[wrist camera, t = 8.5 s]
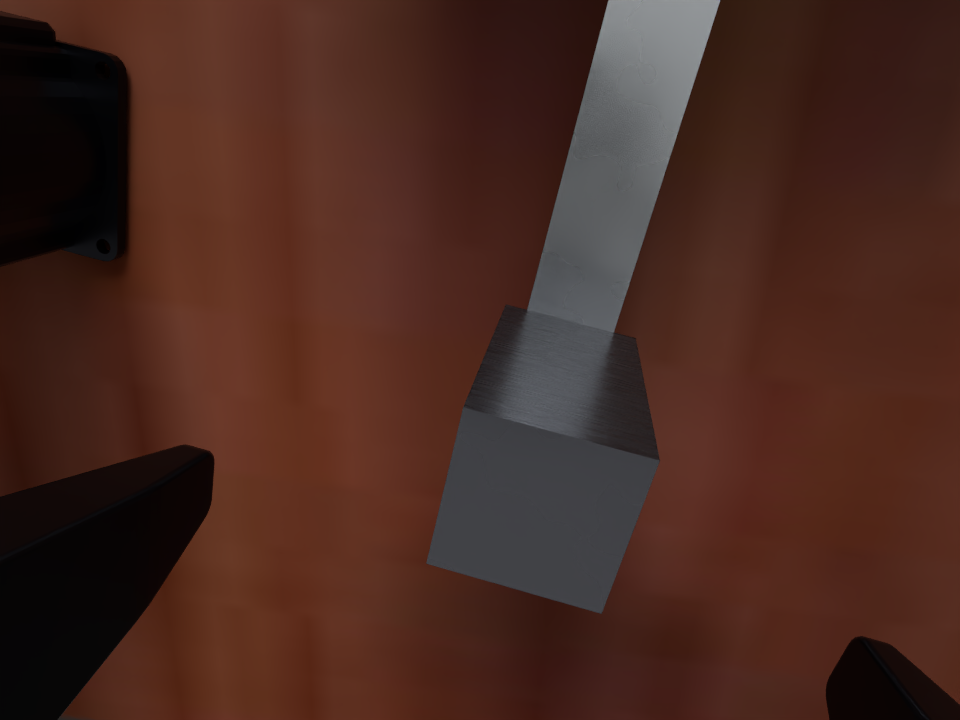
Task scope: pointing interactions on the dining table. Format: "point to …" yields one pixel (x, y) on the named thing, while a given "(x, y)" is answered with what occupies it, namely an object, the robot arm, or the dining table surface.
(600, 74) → the grey l-shaped block
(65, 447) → the dining table surface
